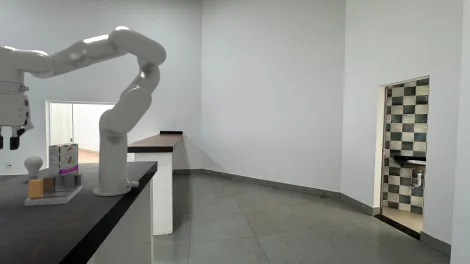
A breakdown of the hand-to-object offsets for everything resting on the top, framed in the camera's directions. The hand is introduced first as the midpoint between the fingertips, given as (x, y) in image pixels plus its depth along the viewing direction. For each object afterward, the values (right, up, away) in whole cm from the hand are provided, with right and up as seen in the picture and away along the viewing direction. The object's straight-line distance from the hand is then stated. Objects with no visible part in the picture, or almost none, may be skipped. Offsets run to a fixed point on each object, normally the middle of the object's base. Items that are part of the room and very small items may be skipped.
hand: (6, 149), depth 72 cm
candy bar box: (-3, -17, +28) cm, 32 cm away
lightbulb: (-15, -16, +28) cm, 35 cm away
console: (+7, -17, +11) cm, 22 cm away
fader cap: (+6, -15, +3) cm, 17 cm away
